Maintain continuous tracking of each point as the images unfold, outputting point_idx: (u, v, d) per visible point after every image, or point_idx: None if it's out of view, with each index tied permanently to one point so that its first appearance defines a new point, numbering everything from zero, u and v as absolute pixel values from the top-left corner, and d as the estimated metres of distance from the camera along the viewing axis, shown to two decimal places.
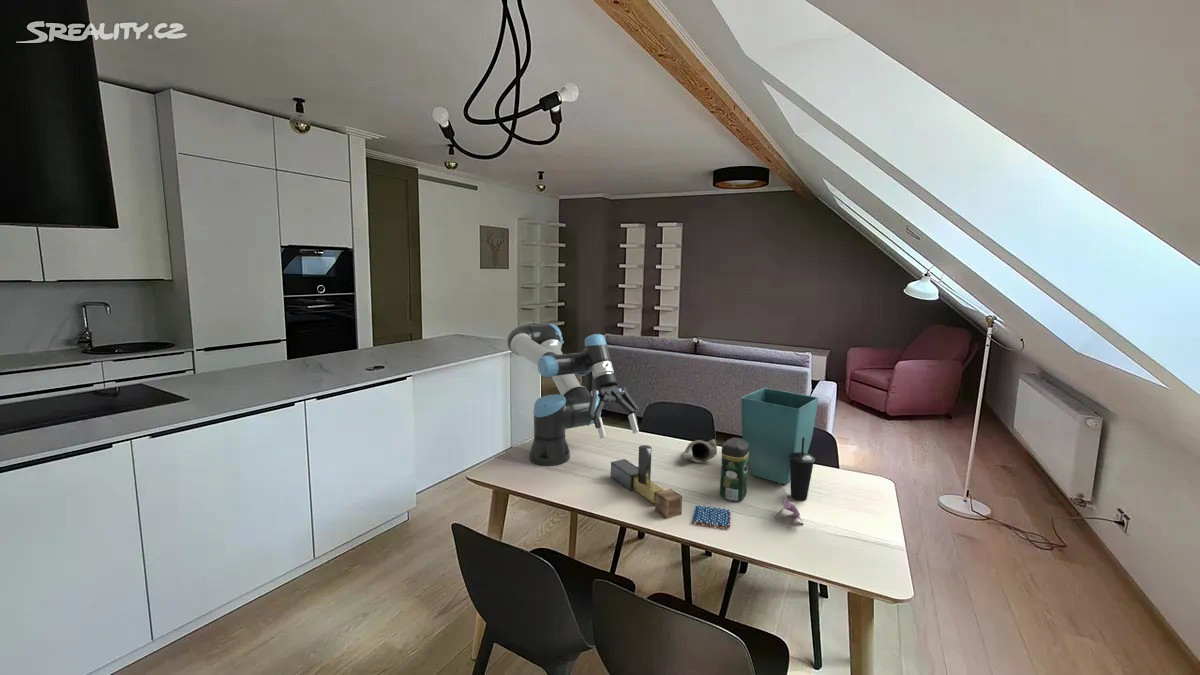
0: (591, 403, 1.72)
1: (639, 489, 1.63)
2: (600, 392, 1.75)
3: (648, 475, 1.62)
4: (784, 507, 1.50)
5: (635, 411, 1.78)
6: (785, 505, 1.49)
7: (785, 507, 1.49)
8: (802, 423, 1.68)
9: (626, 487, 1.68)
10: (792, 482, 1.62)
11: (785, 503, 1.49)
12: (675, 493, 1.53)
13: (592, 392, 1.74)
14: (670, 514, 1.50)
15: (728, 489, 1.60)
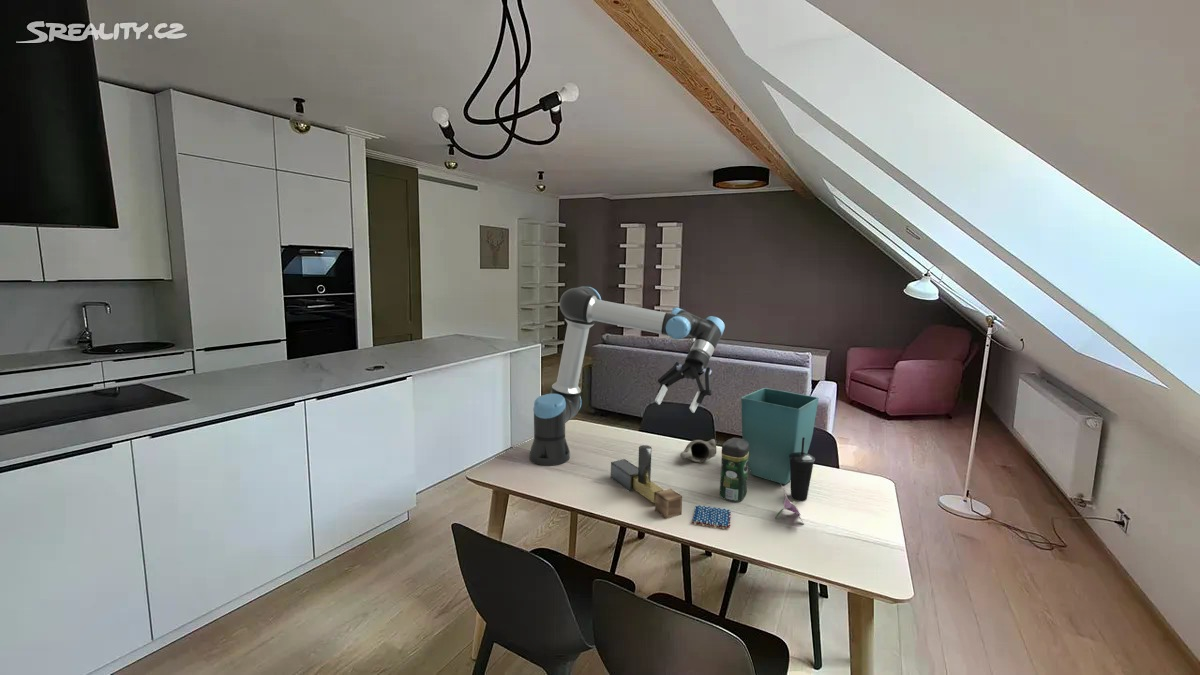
0: (710, 382, 1.69)
1: (639, 489, 1.63)
2: None
3: (648, 475, 1.62)
4: (784, 507, 1.50)
5: None
6: (785, 505, 1.49)
7: (785, 507, 1.49)
8: (802, 423, 1.68)
9: (626, 487, 1.68)
10: (792, 482, 1.62)
11: (785, 503, 1.49)
12: (675, 493, 1.53)
13: (711, 372, 1.71)
14: (670, 514, 1.50)
15: (728, 489, 1.60)
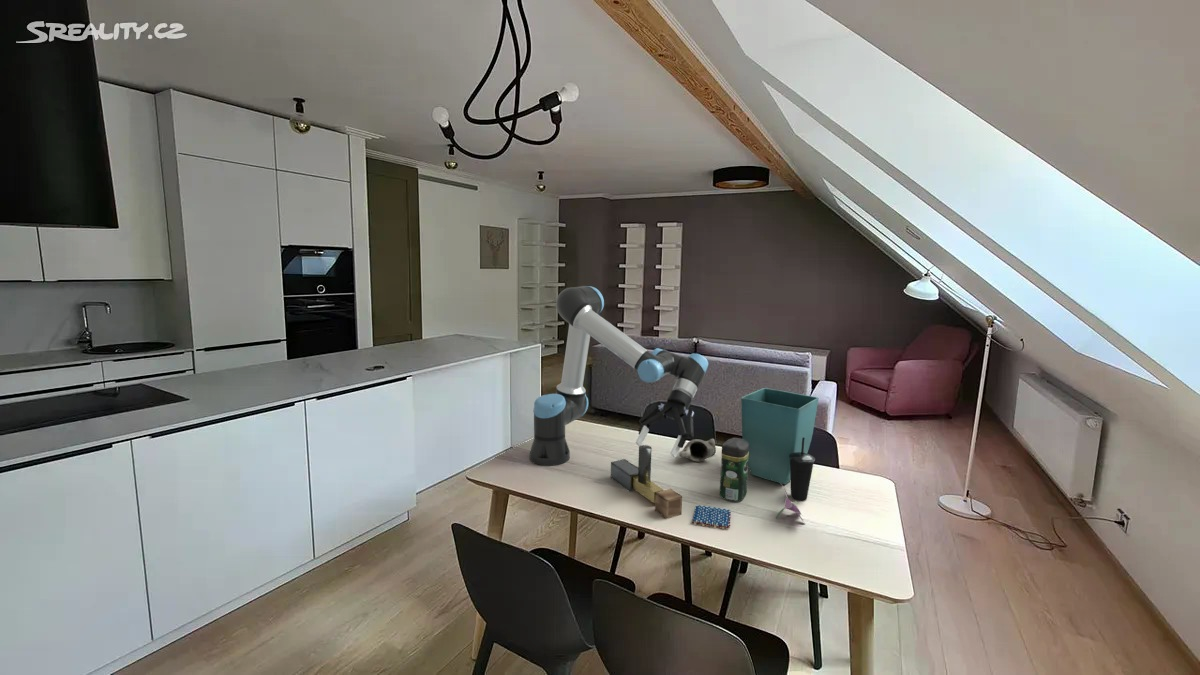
0: (692, 424, 1.64)
1: (639, 489, 1.63)
2: None
3: (648, 475, 1.62)
4: (785, 507, 1.50)
5: None
6: (786, 505, 1.50)
7: (786, 507, 1.50)
8: (802, 423, 1.68)
9: (626, 487, 1.68)
10: (792, 482, 1.62)
11: (786, 503, 1.50)
12: (675, 493, 1.53)
13: (693, 414, 1.66)
14: (670, 514, 1.50)
15: (728, 489, 1.60)
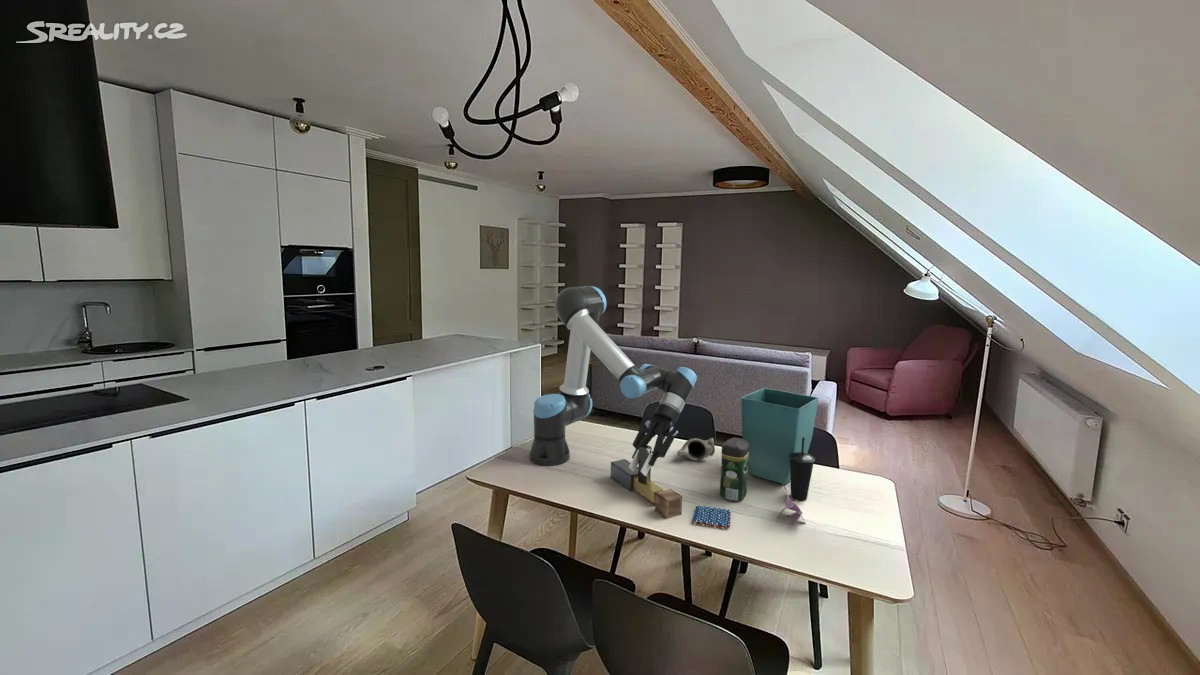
0: (669, 444, 1.61)
1: (639, 489, 1.63)
2: None
3: (648, 475, 1.62)
4: (786, 506, 1.50)
5: None
6: (787, 504, 1.50)
7: (787, 506, 1.50)
8: (802, 423, 1.68)
9: (626, 487, 1.68)
10: (792, 482, 1.62)
11: (787, 502, 1.50)
12: (675, 493, 1.53)
13: (676, 434, 1.63)
14: (670, 514, 1.50)
15: (728, 489, 1.60)
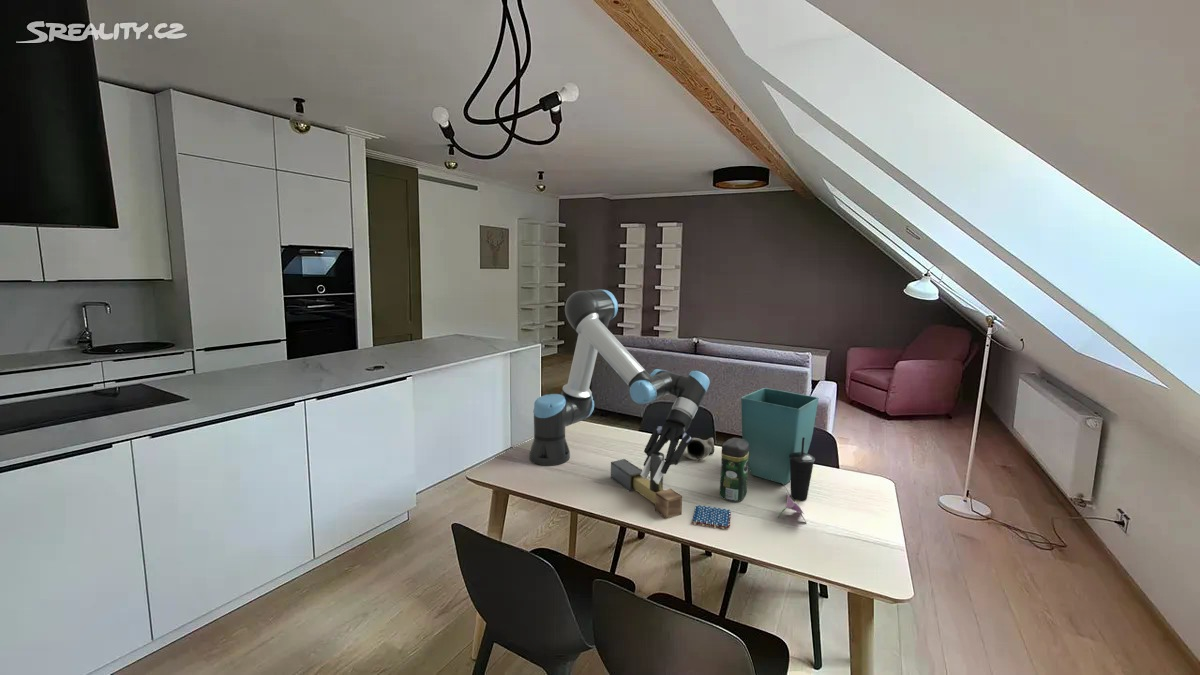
0: (682, 451, 1.56)
1: (651, 497, 1.57)
2: None
3: (660, 483, 1.56)
4: (787, 506, 1.50)
5: None
6: (788, 504, 1.50)
7: (788, 506, 1.50)
8: (802, 423, 1.68)
9: (626, 487, 1.68)
10: (792, 482, 1.62)
11: (788, 502, 1.50)
12: (675, 493, 1.53)
13: (689, 440, 1.57)
14: (670, 514, 1.50)
15: (728, 489, 1.60)
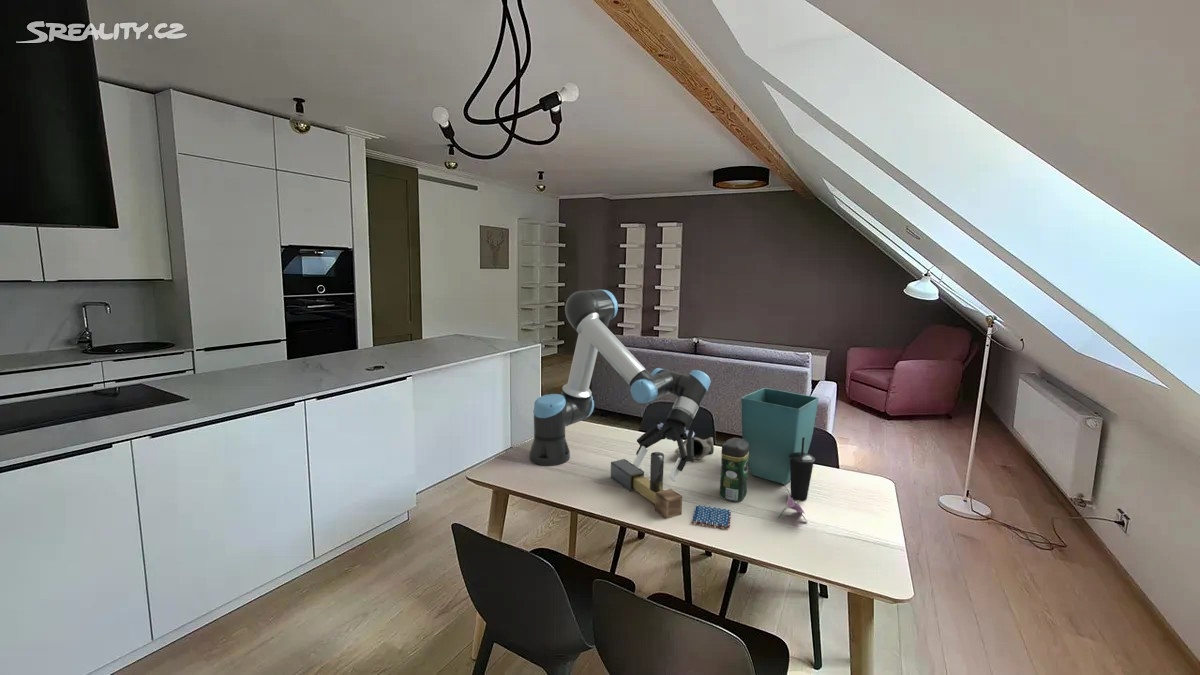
0: (692, 446, 1.55)
1: (651, 497, 1.57)
2: None
3: (660, 483, 1.56)
4: (788, 506, 1.50)
5: None
6: (789, 504, 1.50)
7: (789, 506, 1.50)
8: (802, 423, 1.68)
9: (626, 487, 1.68)
10: (792, 482, 1.62)
11: (789, 502, 1.50)
12: (675, 493, 1.53)
13: (694, 435, 1.58)
14: (670, 514, 1.50)
15: (728, 489, 1.60)
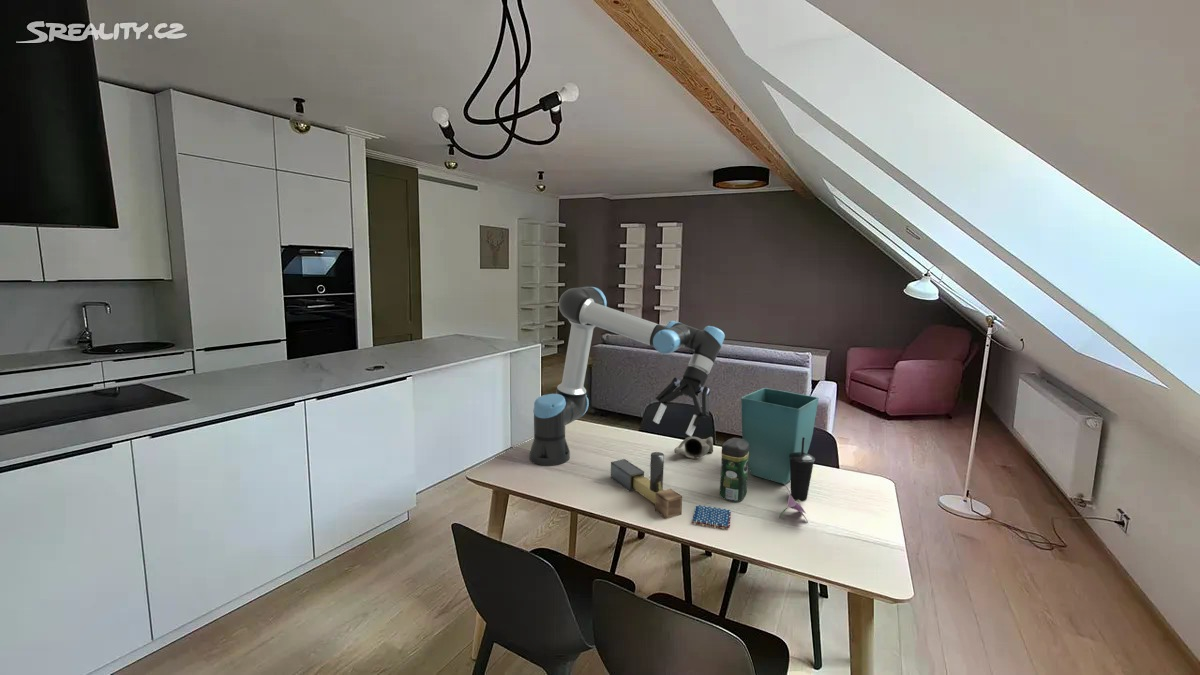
0: (707, 403, 1.63)
1: (651, 497, 1.57)
2: None
3: (660, 483, 1.56)
4: (788, 506, 1.51)
5: (665, 405, 1.74)
6: (789, 504, 1.50)
7: (789, 506, 1.50)
8: (802, 423, 1.68)
9: (626, 487, 1.68)
10: (792, 482, 1.62)
11: (789, 502, 1.50)
12: (675, 493, 1.53)
13: (709, 391, 1.64)
14: (670, 514, 1.50)
15: (728, 489, 1.60)
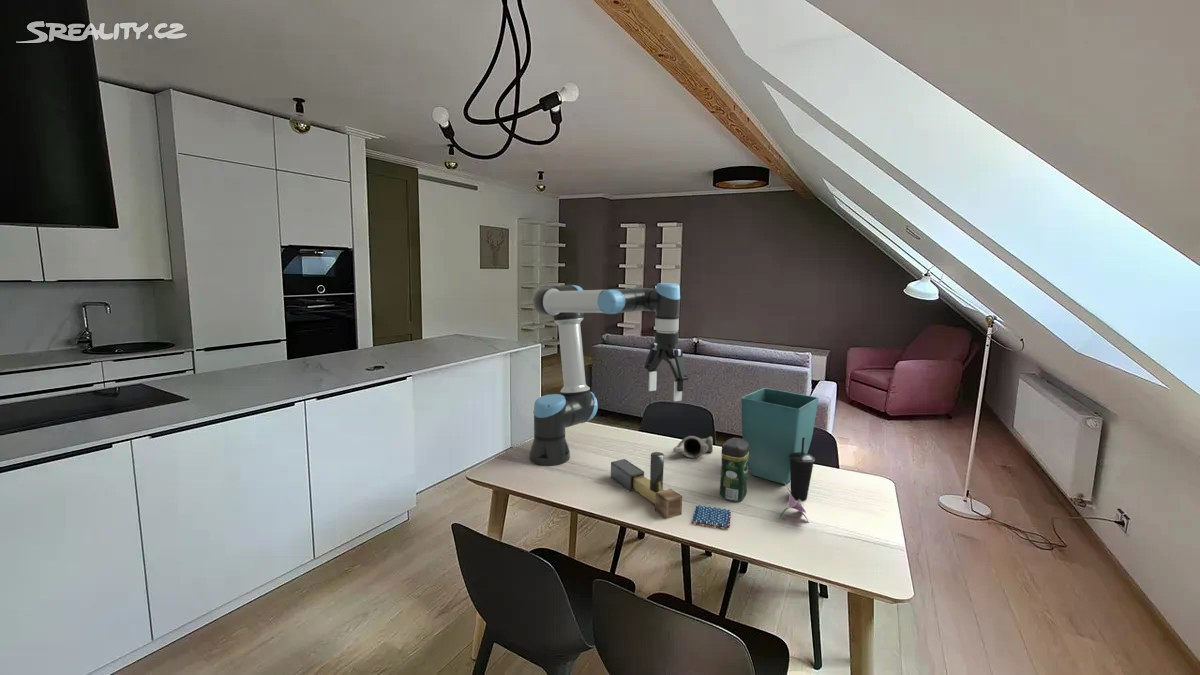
0: (682, 364, 1.59)
1: (651, 497, 1.57)
2: None
3: (660, 483, 1.56)
4: (789, 505, 1.51)
5: None
6: (790, 503, 1.50)
7: (790, 505, 1.50)
8: (802, 423, 1.68)
9: (626, 487, 1.68)
10: (792, 482, 1.62)
11: (790, 501, 1.50)
12: (675, 493, 1.53)
13: (680, 352, 1.60)
14: (670, 514, 1.50)
15: (728, 489, 1.60)
